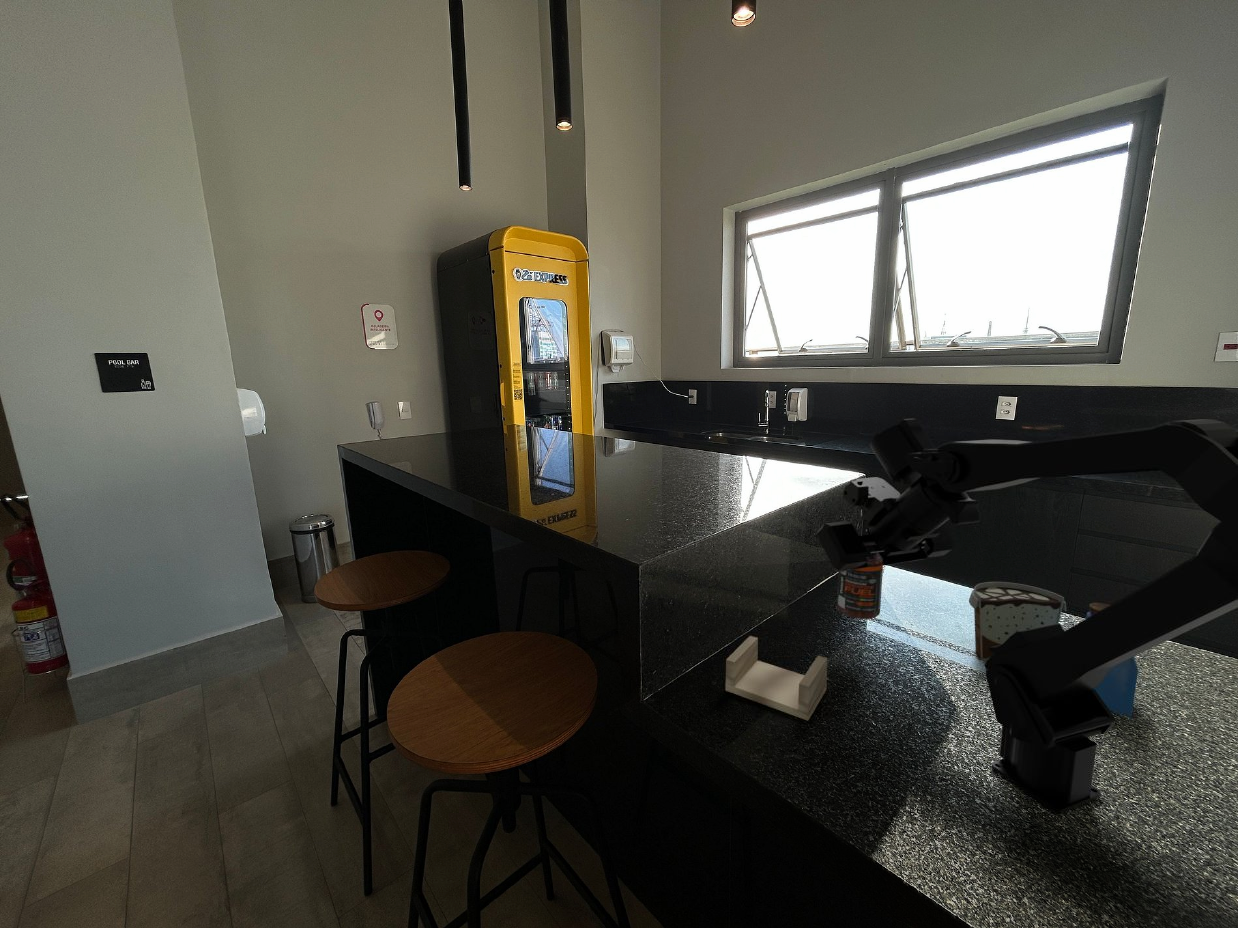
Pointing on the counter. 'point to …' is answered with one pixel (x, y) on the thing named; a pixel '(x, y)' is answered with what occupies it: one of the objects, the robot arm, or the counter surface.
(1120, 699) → the perfume bottle
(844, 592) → the supplement bottle
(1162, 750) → the counter surface
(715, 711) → the counter surface
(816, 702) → the cradle
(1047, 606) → the food container
